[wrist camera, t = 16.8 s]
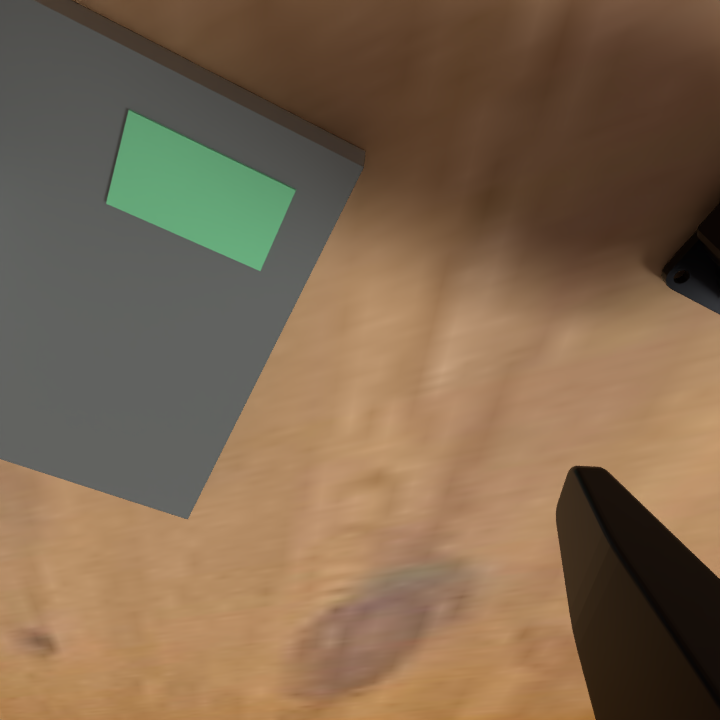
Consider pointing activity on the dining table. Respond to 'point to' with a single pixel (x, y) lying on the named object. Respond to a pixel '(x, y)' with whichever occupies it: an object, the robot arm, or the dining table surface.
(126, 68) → the tester board
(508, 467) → the dining table surface
